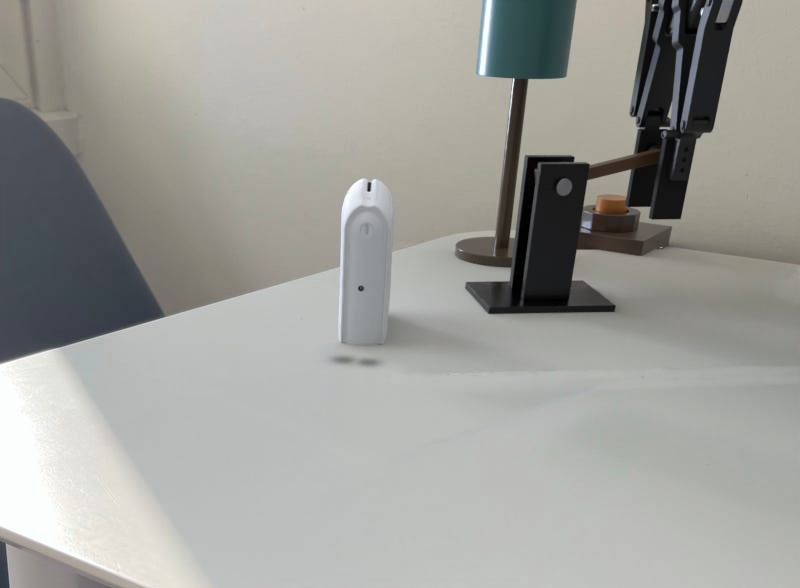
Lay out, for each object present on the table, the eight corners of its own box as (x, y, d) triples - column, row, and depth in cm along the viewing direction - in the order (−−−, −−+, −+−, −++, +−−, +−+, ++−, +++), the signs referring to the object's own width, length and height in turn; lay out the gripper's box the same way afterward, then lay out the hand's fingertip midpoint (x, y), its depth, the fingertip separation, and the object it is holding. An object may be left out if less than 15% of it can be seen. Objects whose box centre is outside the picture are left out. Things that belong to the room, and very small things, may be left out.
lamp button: (630, 213, 115) (633, 196, 114) (619, 218, 113) (622, 201, 112) (601, 209, 117) (603, 193, 116) (589, 213, 115) (592, 197, 114)
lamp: (545, 254, 113) (581, -8, 99) (545, 275, 105) (585, -7, 91) (457, 249, 114) (480, -10, 100) (451, 269, 106) (475, -9, 92)
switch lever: (658, 162, 92) (657, 134, 90) (680, 171, 87) (680, 142, 86) (531, 194, 92) (529, 166, 90) (548, 204, 88) (546, 175, 86)
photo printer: (387, 354, 82) (396, 193, 75) (335, 352, 82) (340, 191, 75) (387, 318, 91) (396, 171, 84) (340, 317, 91) (345, 169, 84)
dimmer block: (668, 245, 118) (675, 209, 115) (640, 261, 111) (647, 223, 109) (573, 232, 123) (578, 197, 121) (540, 246, 116) (545, 209, 114)
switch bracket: (581, 292, 100) (603, 151, 92) (613, 318, 92) (640, 167, 85) (464, 294, 98) (478, 151, 91) (487, 320, 91) (504, 167, 84)
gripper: (622, -97, 86) (580, 194, 99) (715, -112, 71) (651, 233, 84) (705, -95, 86) (652, 193, 99) (814, -109, 72) (735, 232, 84)
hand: (652, 211), depth 92 cm, fingers closed on switch lever, 5 cm apart
